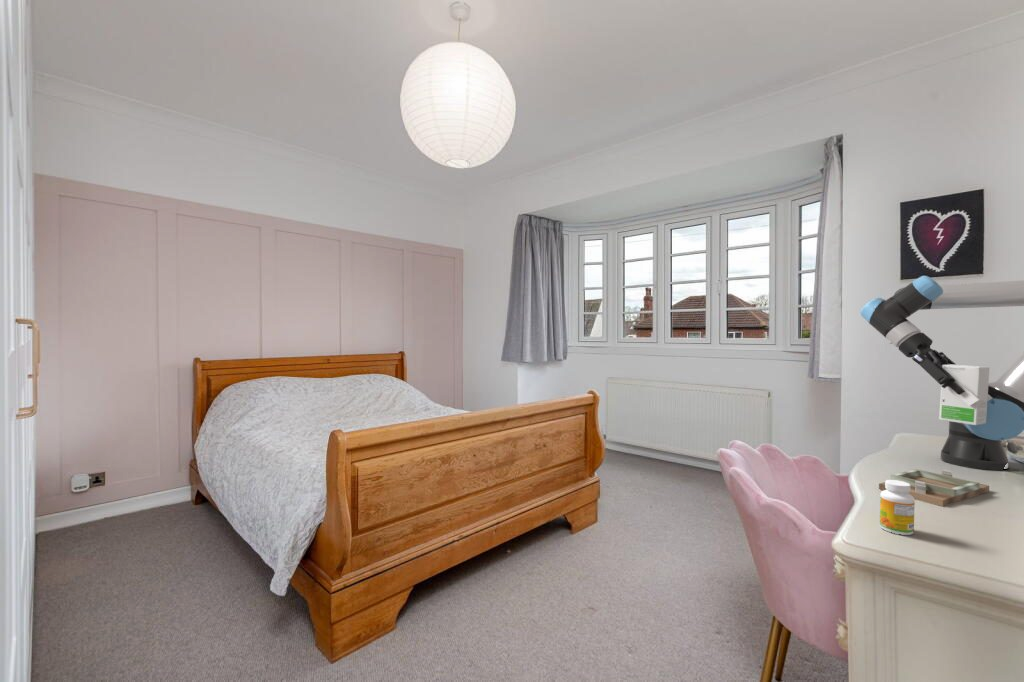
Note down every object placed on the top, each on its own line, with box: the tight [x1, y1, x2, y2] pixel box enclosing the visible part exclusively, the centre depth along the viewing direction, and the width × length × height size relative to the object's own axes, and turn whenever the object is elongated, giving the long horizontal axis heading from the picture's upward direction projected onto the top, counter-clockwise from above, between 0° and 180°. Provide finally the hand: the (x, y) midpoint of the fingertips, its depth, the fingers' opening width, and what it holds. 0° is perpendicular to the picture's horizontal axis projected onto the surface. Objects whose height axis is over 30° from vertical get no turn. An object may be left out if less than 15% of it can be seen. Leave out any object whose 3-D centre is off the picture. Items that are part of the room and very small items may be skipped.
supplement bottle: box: [879, 479, 916, 536], centre depth 96 cm, size 5×5×10 cm
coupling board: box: [878, 468, 990, 507], centre depth 121 cm, size 24×13×3 cm, turn 116°
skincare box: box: [938, 363, 990, 425], centre depth 131 cm, size 8×7×16 cm
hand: (980, 401), depth 127 cm, fingers closed on skincare box, 6 cm apart
